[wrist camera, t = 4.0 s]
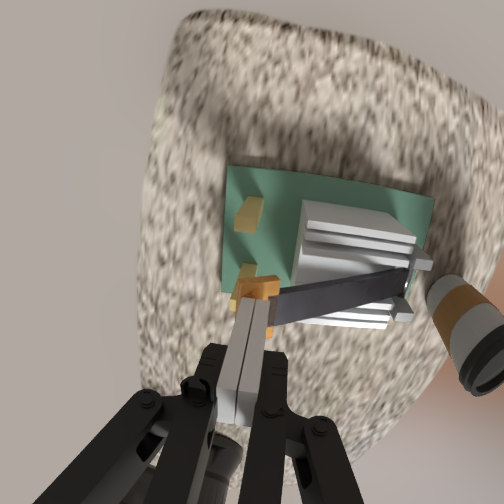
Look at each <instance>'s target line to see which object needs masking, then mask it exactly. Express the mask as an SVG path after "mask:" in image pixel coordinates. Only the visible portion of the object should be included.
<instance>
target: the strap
mask: <svg viewBox="0 0 504 504" xmlns="http://www.w3.org/2000/svg"><path fill="white" fill-rule="evenodd" d="M413 272H414V269H413V268H412V267H411V265H410V264H409V265H408V268H406V267H401V268H396V269H390V270H385V271H380V272H374V273H369V274H363V275H358V276H352V277H346V278H340V279H334V280H328V281H322V282H316V283H310V284H303V285H297V286H290V287H283V288H280V284H281V280H280V279H279V277H278V276H277V275H268V276H259V277H251V278H242V279H238V280H237V295H236V311H235V320H236V316H237V312H238V309H239V305H240V302H241V298H242V297H246V298H254V299H255V304H256V299H261V300H269V301H270V305H269V313H268V322H267V330H266V338H265V339H268V338H272V334H273V328H274V326H277V325H282V324H287V323H292V322H296V321H301V320H305V319H310V318H314V317H318V316H323V315H327V314H331V313H335V312H339V311H343V310H347V309H351V308H355V307H358V306H362V305H366V304H369V303H373V302H377V301H380V300H384V299H387V298H390V297H394V296H397V297H399V298H405V295H406V292H407V290H408V287H409V284H410V281H411V278H412V275H413ZM254 309H255V306H254Z"/></svg>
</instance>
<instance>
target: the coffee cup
mask: <svg viewBox="0 0 504 504" xmlns="http://www.w3.org/2000/svg"><path fill="white" fill-rule="evenodd" d="M427 309H428V311H429V313H430V315H431V317H432V319H433V322H434V324H435V326H436V328H437V330H438V332H439V334H440V336H441V338H442V340H443V342H444V344H445V346H446V349H447V351H448V353H449V355H450V357H451V359H452V360H453V362H454V364H455V367H456V369H457V371H458V374H459V381H460V382H461V384H462V385H463V386H464V388H465V390H466V391H469V392H471V394H472V395H473V396H476V397H477V396H483V395H486V394H488V393H490V392H492V391H493V390H494V389H496V388H498V387H499V386H500V385H501V384H502V383H504V316H503V314H501V312H500V311H499V310H498V309H497V308H496V307H495V306H494V305H493V304H492V303H491V302H490V301H489V300H488V299H487V298H485V297H484V296H483V295H482V294H481V293H480V292H479V291H477V290H476V289H475V288H474V287H473V286H472V285H469V284H468V283H467V282H466V281H465V280H464V279H462V278H461V277H460V276H458V275H453V274H448V275H445V276H442V277H441V278H439V279H438V280H437V281H436V282H435V283H434V284H433V285H432V286H431V288H430V290H429V292H428V295H427Z"/></svg>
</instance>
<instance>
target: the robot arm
mask: <svg viewBox="0 0 504 504" xmlns="http://www.w3.org/2000/svg"><path fill="white" fill-rule="evenodd" d="M269 305H270V301H269V300H261V299H256V304H255V299H254V298H246V297H242V298H241V302H240V305H239V309H238V312H237V316H236V320H235V323H234V327H233V330H232V334H231V337H230V341H229V344H228V346H227V345H221V344H215V343H210V344H209V345H208V346H207V347H206V348H204V350H203V353H202V355H201V358H200V361H199V364H198V366H197V369H196V371H195V374H194V376H190V377H187V378H186V379H184V380H183V381H182V382H181V384H180V387H181V393H182V394H180V395H177V396H160V394H159V393H157V392H156V391H154V390H151V389H143V390H140V391H138V392H137V393H135V394H134V395H133V396H132V397H131V398H130V399H129V400H128V402H127V403H126V404H125V405H124V406H123V407H122V408H121V409H120V410H119V411H118V413H117V414H116V415H115V416H114V417H113V418H112V419H111V420H110V421H109V422H108V423H107V424H106V426H105V427H104V428H103V429H102V430H101V431H100V432H99V433H98V434H97V435H96V436H95V437H94V439H93V440H92V441H91V442H90V443H89V444H88V445H87V446H86V447H85V448H84V449H83V451H81V453H80V454H79V455H78V456H77V457H76V458H75V459H74V460H73V461H72V462H71V463H70V464H69V465H68V467H67V468H66V469H65V470H64V471H63V472H62V473H61V474H60V475H59V476H58V477H57V478H56V479H55V480H54V482H53V483H52V484H51V485H50V486H49V487H48V488H47V489H46V490H45V491H44V492H43V493H42V494H41V495H40V496H39V497H38V498H37V499H36V500H35V502H34V503H33V504H225V501H226V496H227V491H228V486H229V481H230V478H231V477H232V475H233V474H234V472H235V470H236V469H237V467H238V465H239V464H240V462H241V460H242V456H243V449H242V448H241V447H240V446H239V445H238V444H237V443H235V442H234V441H232V440H230V439H227V438H225V437H222V436H219V435H216V434H215V424H216V420H217V422H223V423H228V424H234V421H235V416H236V423H235V425H241V426H248V427H251V433H250V438H249V444H248V450H247V456H246V462H245V467H244V473H243V478H242V484H241V489H240V495H239V500H238V504H281V495H282V486H283V474H284V462H285V455H287V456H289V457H291V458H292V462H293V466H294V470H295V474H296V479H297V483H298V487H299V491H300V495H301V499H302V503H303V504H364V502H363V499H362V496H361V493H360V490H359V488H358V485H357V482H356V479H355V476H354V474H353V471H352V468H351V465H350V462H349V460H348V457H347V454H346V451H345V449H344V446H343V443H342V441H341V438H340V435H339V432H338V430H337V427H336V425H335V423H334V422H333V421H332V420H331V419H329V418H328V417H325V416H314V417H311V418H310V419H308V418H305V417H302V416H299V415H297V414H295V413H294V412H292V411H291V410H290V408H289V407H288V405H287V375H288V359H287V357H286V355H285V354H284V352H275V351H266V350H264V346H265V338H266V330H267V322H268V313H269ZM254 306H255V309H254ZM163 445H164V446H163ZM162 446H163V449H162V452H161V455H160V457H159V460H158V463H157V466H156V467H155V466H153V465H151V464H150V463H151V461H152V460H153V459H154V457H155V456H156V454H157V453H158V452H159V450H160V449H161V448H162Z"/></svg>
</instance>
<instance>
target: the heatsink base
mask: <svg viewBox="0 0 504 504" xmlns="http://www.w3.org/2000/svg"><path fill="white" fill-rule="evenodd" d="M434 203H435V199H434V198H432V197H429V196H425V195H421V194H417V193H412V192H408V191H404V190H399V189H395V188H390V187H385V186H380V185H375V184H370V183H365V182H360V181H354V180H348V179H343V178H336V177H330V176H324V175H317V174H310V173H303V172H295V171H287V170H278V169H269V168H259V167H248V166H237V165H229V166H228V167H227V182H226V198H225V216H224V236H223V258H222V285H221V292H225V293H232V295H231V298H230V311H236V295H237V280H238V279H242V278H251V277H259V276H268V275H277V276H278V277H279V279H280V280H281V284H280V288H283V287H290V286H297V285H303V284H310V283H316V282H322V281H328V280H334V279H340V278H346V277H352V276H358V275H363V274H369V273H374V272H380V271H385V270H390V269H396V268H401V267H406V268H408V265H409V264H410V265H411V267H412V268H413V269H414V272H413V275H412V278H411V281H410V284H409V287H408V290H407V292H406V295H405V298H399V297H397V296H394V297H390V298H387V299H384V300H380V301H377V302H373V303H369V304H366V305H362V306H358V307H355V308H351V309H347V310H343V311H339V312H335V313H331V314H327V315H323V316H318V317H314V318H310V319H305V320H301V321H296V322H300V323H310V324H321V325H332V326H345V327H359V328H376V329H386V326H387V322H386V321H389V319H390V316H392V318H393V320H394V321H402V322H411V320H412V318H413V316H414V312H413V311H412V309H411V307H410V306H409V304H408V302H407V301H406V298H407V296H408V293H409V290H410V287H411V284H412V282H413V279H414V276H415V273H416V270H417V269H419V270H427V271H431V268H432V265H433V262H434V261H433V260H432V259H431V258H430V257H429V256H428V255H427V254H426V253H425V252H424V251H423V247H424V243H425V240H426V236H427V232H428V228H429V224H430V220H431V216H432V212H433V207H434ZM388 310H389V311H388ZM389 312H390V313H389ZM390 314H391V315H390Z"/></svg>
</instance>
